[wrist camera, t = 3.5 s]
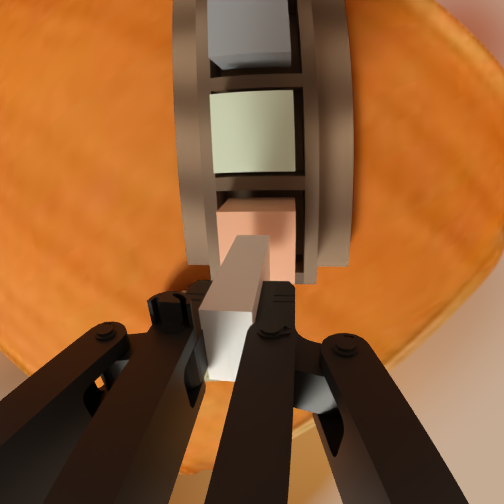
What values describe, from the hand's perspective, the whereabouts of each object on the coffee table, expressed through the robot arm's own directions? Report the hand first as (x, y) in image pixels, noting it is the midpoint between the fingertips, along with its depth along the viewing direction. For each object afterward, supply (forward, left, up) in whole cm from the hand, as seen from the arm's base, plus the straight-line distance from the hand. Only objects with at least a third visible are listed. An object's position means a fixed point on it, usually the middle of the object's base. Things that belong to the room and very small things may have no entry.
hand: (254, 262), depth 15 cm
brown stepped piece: (-9, 0, -10) cm, 13 cm away
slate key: (-12, 0, -5) cm, 13 cm away
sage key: (-6, 0, -5) cm, 8 cm away
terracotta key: (0, 0, -5) cm, 5 cm away
